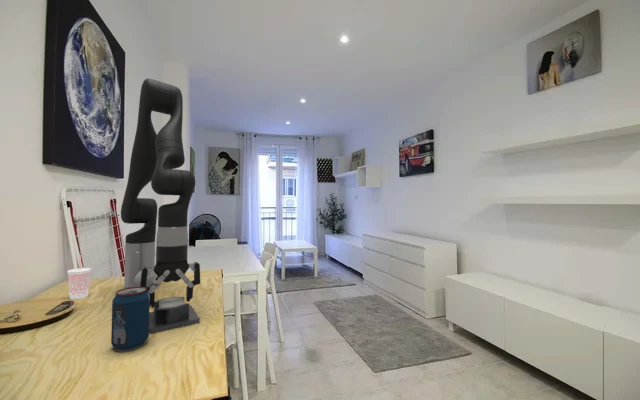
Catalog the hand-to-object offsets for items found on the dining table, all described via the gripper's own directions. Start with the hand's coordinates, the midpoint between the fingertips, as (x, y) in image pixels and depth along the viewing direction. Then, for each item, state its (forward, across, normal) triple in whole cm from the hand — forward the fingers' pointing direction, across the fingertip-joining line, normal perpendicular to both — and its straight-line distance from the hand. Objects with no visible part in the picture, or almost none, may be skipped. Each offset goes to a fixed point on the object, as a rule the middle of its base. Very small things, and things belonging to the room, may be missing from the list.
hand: (170, 303), depth 76 cm
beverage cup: (+5, +23, -38) cm, 44 cm away
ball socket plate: (+4, 0, 0) cm, 4 cm away
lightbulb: (+5, +5, -17) cm, 18 cm away
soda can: (+5, +9, +10) cm, 14 cm away
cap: (+3, 0, 0) cm, 3 cm away
